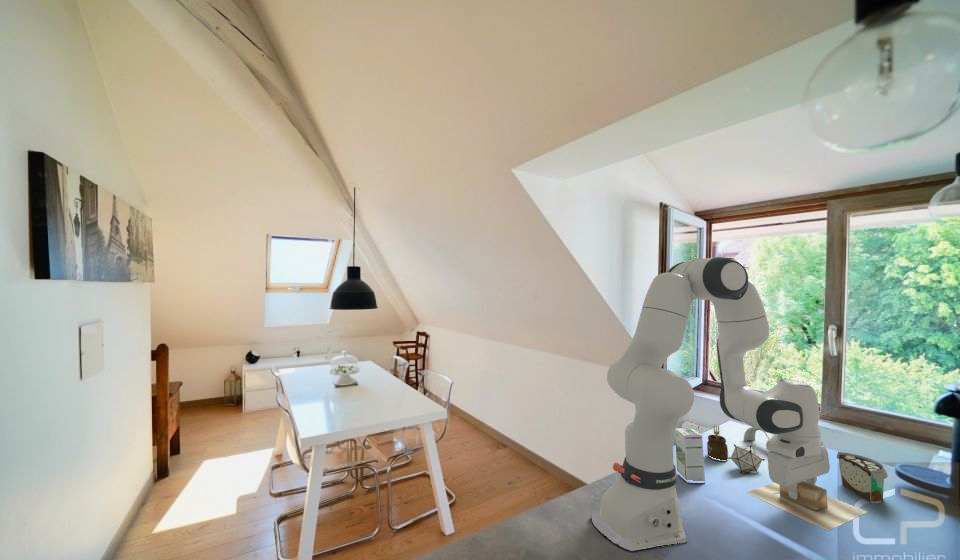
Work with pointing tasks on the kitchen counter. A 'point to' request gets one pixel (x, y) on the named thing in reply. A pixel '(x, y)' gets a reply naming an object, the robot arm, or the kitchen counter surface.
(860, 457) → the food container
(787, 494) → the block
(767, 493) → the board
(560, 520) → the kitchen counter surface
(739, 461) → the game die
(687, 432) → the syrup box
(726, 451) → the utensil holder
